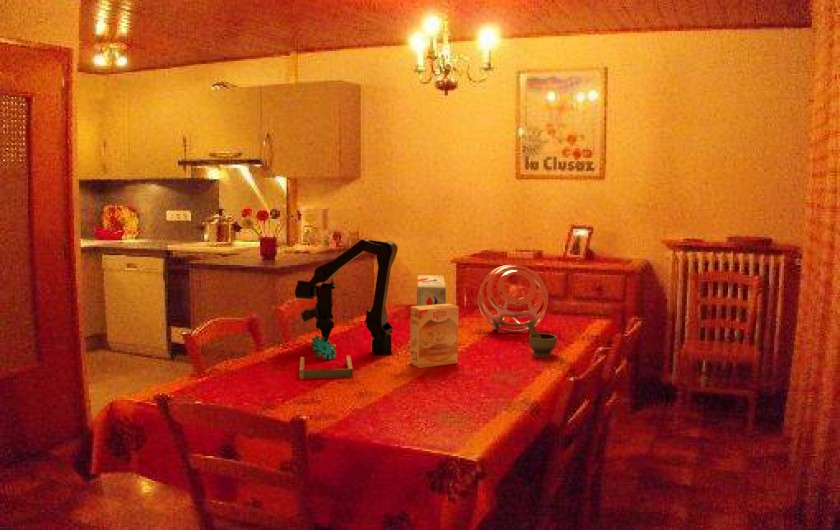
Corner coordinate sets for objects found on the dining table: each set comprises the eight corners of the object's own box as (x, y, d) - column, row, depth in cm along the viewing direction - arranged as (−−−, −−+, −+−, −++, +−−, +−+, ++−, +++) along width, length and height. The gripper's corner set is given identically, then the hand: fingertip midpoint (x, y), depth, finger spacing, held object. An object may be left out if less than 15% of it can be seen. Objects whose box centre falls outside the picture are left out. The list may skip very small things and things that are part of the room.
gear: (321, 359, 248) (308, 334, 252) (311, 369, 250) (298, 345, 254) (344, 357, 257) (331, 333, 261) (334, 367, 259) (321, 343, 263)
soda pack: (446, 318, 326) (446, 286, 324) (416, 317, 326) (416, 286, 324) (443, 301, 366) (443, 273, 364) (417, 301, 366) (417, 273, 364)
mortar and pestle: (559, 354, 264) (560, 320, 263) (552, 360, 256) (553, 325, 254) (528, 350, 269) (529, 317, 267) (520, 356, 260) (521, 322, 259)
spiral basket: (484, 274, 321) (491, 244, 296) (547, 292, 318) (560, 263, 293) (467, 332, 308) (473, 306, 284) (533, 351, 306) (545, 327, 281)
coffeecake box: (418, 368, 244) (419, 309, 241) (409, 363, 250) (409, 306, 247) (458, 363, 250) (459, 306, 248) (448, 358, 257) (448, 302, 254)
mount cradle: (350, 363, 249) (350, 355, 249) (352, 377, 232) (352, 369, 232) (300, 364, 247) (300, 357, 247) (299, 378, 230) (299, 371, 230)
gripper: (302, 296, 275) (302, 337, 277) (301, 305, 257) (301, 349, 259) (332, 295, 276) (333, 336, 278) (333, 304, 258) (334, 349, 260)
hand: (324, 342), depth 269 cm, fingers closed
